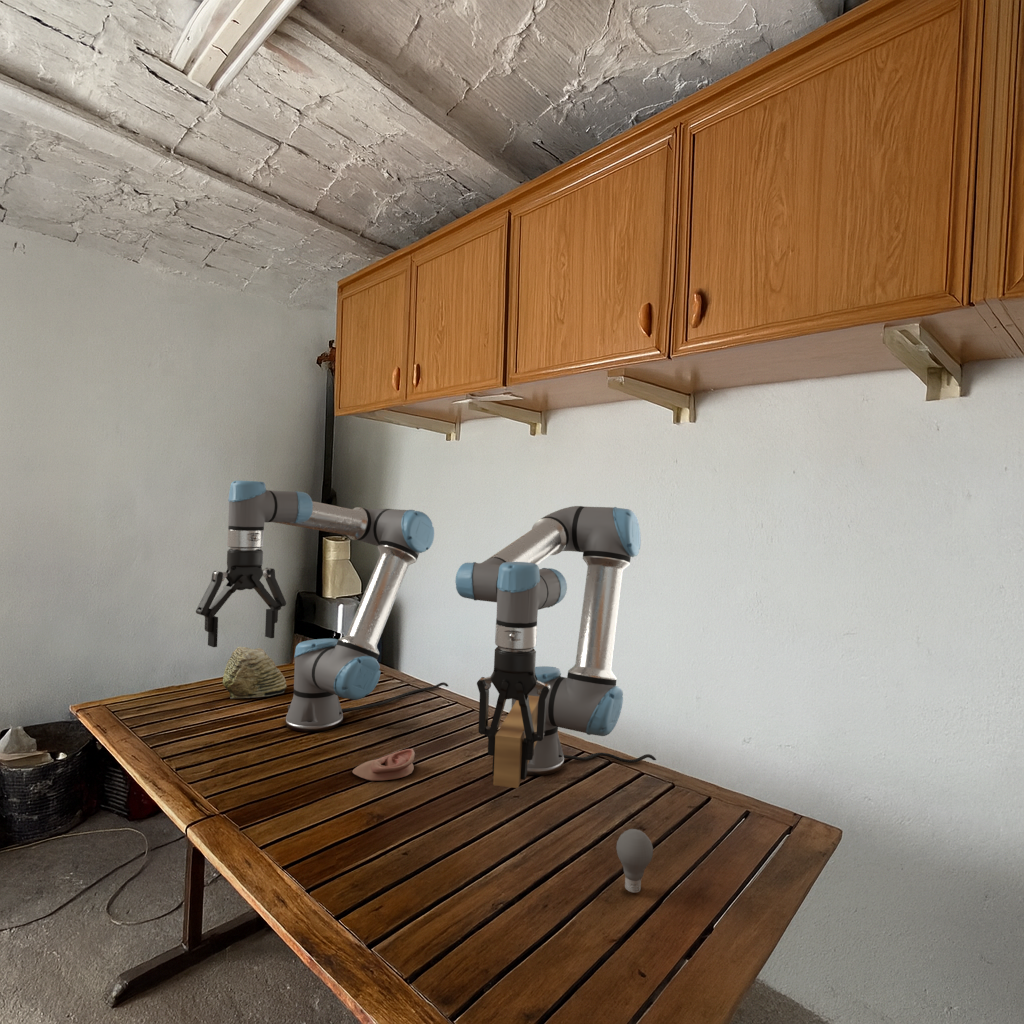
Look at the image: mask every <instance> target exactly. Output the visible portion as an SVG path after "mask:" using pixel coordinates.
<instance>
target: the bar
mask: <svg viewBox="0 0 1024 1024" xmlns="http://www.w3.org/2000/svg"><path fill="white" fill-rule="evenodd" d="M528 697H529V706H530V711H531V717H532V722H533V728H534V732H537V716H538V701H539V696H529V695H528ZM511 707H512V706H511ZM524 738H526V736H525V731H524V725H523V719H522V714H521V708H520V706H519V701H518V700H516V702H515V704H514V705H513V707H512V709H510V710H509V712H508V714H507V715H506V717H505V719H504V720H503V721H502V724H501V726H499V728H498V732H497V734H496V735H495V759H494V776H493V785H492V786H496V787H504V788H505V787H506V788H513V789H519V787H520V784H521V782H522V779H521V759H522V743H523V741H524ZM536 743H537V741H535V742H534V748H535V745H536ZM528 763H529V760H528Z"/></svg>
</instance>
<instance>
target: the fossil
mask: <svg viewBox="0 0 1024 1024" xmlns="http://www.w3.org/2000/svg"><path fill="white" fill-rule="evenodd" d="M222 676H223V677H222V685H223V687H224V688H225V690H226V691H228V693H229V698H230V699H250V698H264V697H271V696H275V695H281V694H284V693H285V691H286V689H287V687H288V686H287V680H286V678H285V676H284V674H283V673H282V672H281V669H279V668H278V667H277V665H276V663H275V662H274V660H273V659H272V658H271V657H270V656H269V655H268V654H267V653H266V652H265V650H264V649H263V648H260V647H258V648H251V647H247V646H246V647H245V646H238V647H237V648H236V649H235V650H233V651H232V653H231V656H230V657H229V659H228V660H227V663H226V666H225V668H224V671H223V675H222Z"/></svg>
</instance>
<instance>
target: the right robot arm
mask: <svg viewBox="0 0 1024 1024" xmlns="http://www.w3.org/2000/svg"><path fill="white" fill-rule="evenodd" d="M641 541H642V540H641V528H640V523H639V519H638V517H637V515H636V513H635V512H634V511H633V510H632V509H629V508H621V507H617V506H614V507H613V506H612V507H611V506H607V507H606V506H583V505H574V506H573V505H572V506H568V507H564V508H560V509H558V510H555V511H553V512H550V513H548V514H547V515H545V516H543V517H541V518H540V519H538V520H537V521H535V522H534V524H533V525H532V527H531V529H530V530H529V531H527V532H526V533H524V534H523V535H522V536H519V538H517V539H515V540H514V541H513V542H511V543H509V544H508V545H507V546H505V547H504V548H502V549H501V550H499V551H497V552H496V553H495V554H493V555H491V556H490V557H488V558H487V559H485V560H484V561H482V562H476V561H473V562H464V563H462V564H461V565H460V566H459V568H458V569H457V572H456V575H455V580H454V581H455V582H454V583H455V589H456V592H457V594H458V595H459V596H460V597H462V598H464V599H468V600H473V601H480V602H481V601H482V602H489V603H496V620H495V632H494V633H495V637H494V644H495V646H496V647H495V649H494V656H493V657H494V659H493V671H492V673H491V675H490V676H487V677H485V676H481V677H480V678H479V679H478V680H477V681H476V686H477V690H478V692H479V703H478V705H479V707H478V733H479V735H484V736H486V737H487V739H488V741H487V754H488V756H491V757H492V771H491V772H492V773H491V774H492V777H494V759H495V735H496V734H497V732H498V730H499V728H500V723H501V720H502V717H503V712H504V709H505V706H506V701H507V700H511V709H512V707H513V705H514V704H515V702H516V700H518V701H519V706H520V708H521V714H522V719H523V725H524V731H525V736H526V738H524V741H523V743H522V759H521V779H522V780H523V781H525V780H526V777H527V776H546V775H547V776H548V775H552V774H555V773H557V772H560V771H561V770H562V769H563V768H564V766H565V765H564V764H565V759H566V760H567V759H568V760H574V761H579V762H585V761H589V760H592V759H594V758H597V757H606V758H607V757H608V758H611V759H613V760H616V761H619V762H622V763H625V764H636V763H639V762H642V761H643V760H645V759H651V760H653V761H657V758H656V757H655V756H654V755H653V754H650V753H647V754H643V755H640V756H639V757H637V758H635V759H633V758H632V759H628V758H623V757H620V756H617V755H616V754H615V755H614V754H611V753H607V752H595V753H592V754H590V755H588V756H582V757H581V756H575V755H568V754H564V750H563V747H562V743H561V740H560V736H559V729H560V728H561V729H565V730H570V731H573V732H579V733H583V734H586V735H588V736H591V735H592V736H597V737H606V736H609V735H610V734H611V733H612V732H613V731H614V729H615V728H616V726H617V724H618V721H619V719H620V716H621V713H622V708H623V703H624V697H623V696H624V692H623V689H622V688H621V687H620V686H618V685H617V679H618V678H617V676H616V675H615V674H614V672H613V671H612V670H613V669H612V668H613V667H612V665H613V656H614V648H615V642H616V641H615V640H616V633H617V632H616V631H617V630H616V629H617V624H618V623H617V622H618V614H619V607H620V599H621V597H620V596H621V590H622V589H621V588H622V581H623V571H625V569H626V568H628V567H629V566H630V565H631V558H635V557H637V556H638V555H639V553H640V549H641ZM561 552H577V553H582V560H583V562H584V563H585V564H586V565H587V569H586V577H585V585H584V593H583V601H582V609H581V616H580V624H579V632H578V639H577V647H576V655H575V664H574V665H573V666H572V667H570V668H569V669H568V670H567V675H566V677H565V676H562V672H561V669H560V668H557V667H556V666H550V665H549V666H545V665H544V666H543V665H542V666H541V665H540V666H536V661H537V660H536V656H537V651H536V649H535V647H536V646H537V637H538V615H539V613H538V612H539V610H543V609H546V608H551V607H554V606H555V605H557V604H559V603H560V602H562V601H563V600H564V598H565V597H566V595H567V591H568V583H567V580H566V578H565V576H564V575H563V573H561V572H560V571H559V570H557V569H555V568H551V567H542V568H539V566H538V565H540V564H541V563H542V562H543V561H544V560H546V559H547V558H548V557H550V556H556V555H558V554H560V553H561ZM492 685H493V686H494V688H495V690H496V691H497V692H498V697H497V700H496V705H495V709H494V713H493V716H492V719H491V723H490V725H489V708H490V704H489V703H490V689H491V686H492ZM528 695H529V696H539V701H538V716H537V732H534V728H533V722H532V717H531V711H530V706H529V697H528ZM511 709H510V710H511ZM535 741H537V743H536V745H535V748H534V742H535ZM528 760H529V763H528ZM522 780H521V781H522Z"/></svg>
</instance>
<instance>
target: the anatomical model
mask: <svg viewBox="0 0 1024 1024" xmlns="http://www.w3.org/2000/svg"><path fill="white" fill-rule="evenodd" d="M415 755H416V753H415V750H414V749H413V748H405V749H401V750H398V751H396V752H392V753H390V754H387V755H384V756H381V757H378V758H376V759H371V760H368V761H365V762H362V763H361V764H359V765H358V766H356V767H355V768H353V770H352V774H353V775H354V776H357V777H359V778H361V779H364V780H367V781H372V782H373V781H388V780H390V781H391V780H397V779H400V778H404V777H407V776H409V775H410V774H412V773H413V771H414V763H413V762H414V760H415Z"/></svg>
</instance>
